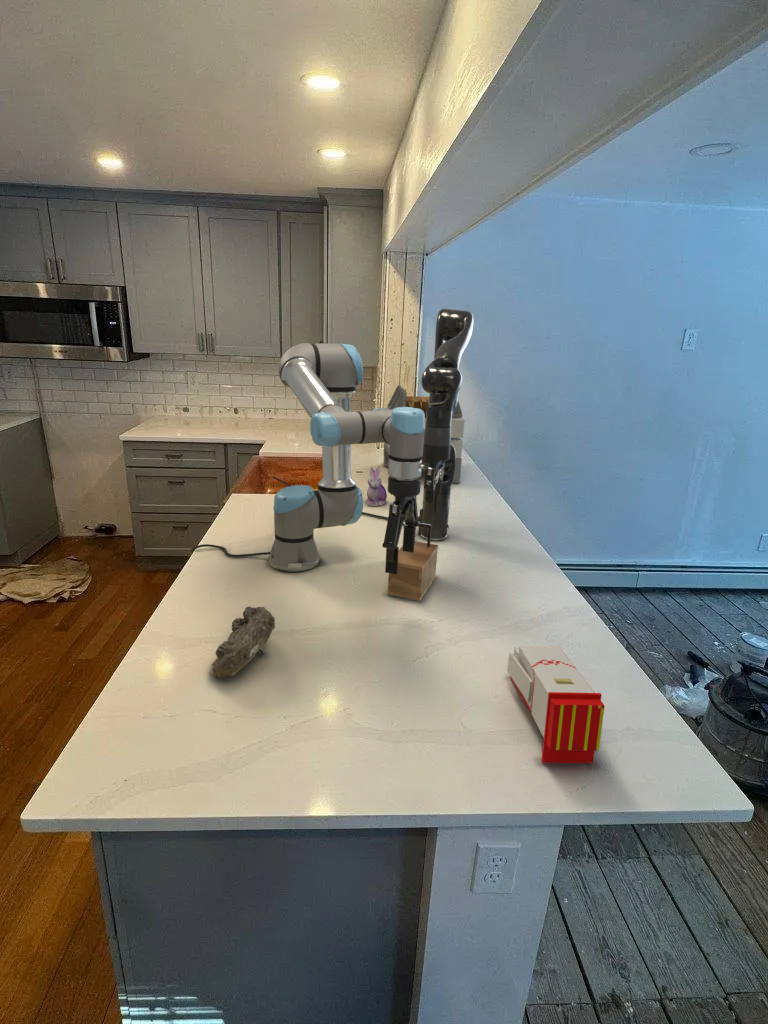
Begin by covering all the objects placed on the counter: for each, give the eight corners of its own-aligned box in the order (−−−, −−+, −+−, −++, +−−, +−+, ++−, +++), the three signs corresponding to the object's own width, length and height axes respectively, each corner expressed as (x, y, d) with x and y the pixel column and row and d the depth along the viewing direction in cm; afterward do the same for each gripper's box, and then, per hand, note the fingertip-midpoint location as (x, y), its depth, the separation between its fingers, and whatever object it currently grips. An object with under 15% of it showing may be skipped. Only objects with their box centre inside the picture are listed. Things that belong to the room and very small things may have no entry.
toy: (556, 628, 125) (614, 701, 96) (551, 684, 128) (605, 771, 99) (502, 627, 125) (543, 700, 95) (497, 683, 128) (536, 770, 98)
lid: (407, 543, 169) (409, 517, 167) (438, 548, 166) (440, 523, 164) (389, 564, 154) (390, 537, 152) (422, 571, 151) (424, 543, 149)
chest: (405, 571, 172) (407, 543, 169) (435, 576, 169) (437, 549, 166) (387, 594, 157) (389, 565, 154) (420, 601, 154) (422, 571, 151)
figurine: (371, 508, 224) (372, 471, 219) (360, 500, 232) (361, 464, 227) (392, 505, 228) (394, 469, 223) (380, 497, 236) (382, 462, 231)
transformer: (382, 463, 289) (386, 382, 275) (445, 464, 293) (451, 384, 279) (390, 482, 257) (394, 392, 243) (460, 483, 261) (468, 394, 247)
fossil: (228, 609, 137) (273, 580, 132) (255, 636, 140) (300, 609, 135) (192, 672, 118) (244, 640, 113) (224, 701, 121) (275, 672, 116)
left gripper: (404, 494, 117) (399, 586, 124) (433, 466, 139) (428, 545, 147) (370, 489, 119) (367, 580, 126) (404, 462, 142) (400, 540, 149)
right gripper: (445, 448, 148) (440, 507, 153) (455, 438, 161) (451, 492, 166) (417, 445, 150) (413, 503, 156) (430, 435, 163) (426, 489, 168)
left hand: (400, 561), depth 136 cm, fingers open, 13 cm apart
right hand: (433, 497), depth 161 cm, fingers open, 8 cm apart
